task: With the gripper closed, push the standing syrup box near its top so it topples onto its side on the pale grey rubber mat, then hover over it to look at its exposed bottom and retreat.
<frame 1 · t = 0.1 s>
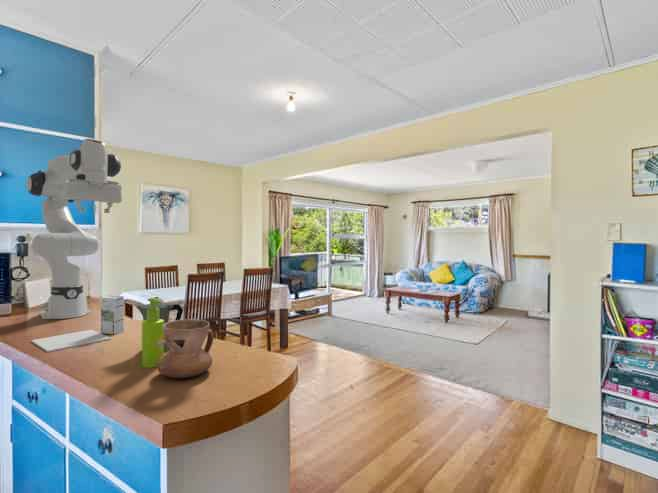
hand: (94, 212, 145), 48 cm above the countertop, tool pointing down, fingers open, 8 cm apart
ceramic jug: (187, 373, 100), on the countertop
soap dispenser: (153, 365, 105), on the countertop
grey mat: (71, 340, 127), on the countertop
coffeepot: (159, 350, 118), on the countertop
syrup box: (112, 333, 138), on the countertop
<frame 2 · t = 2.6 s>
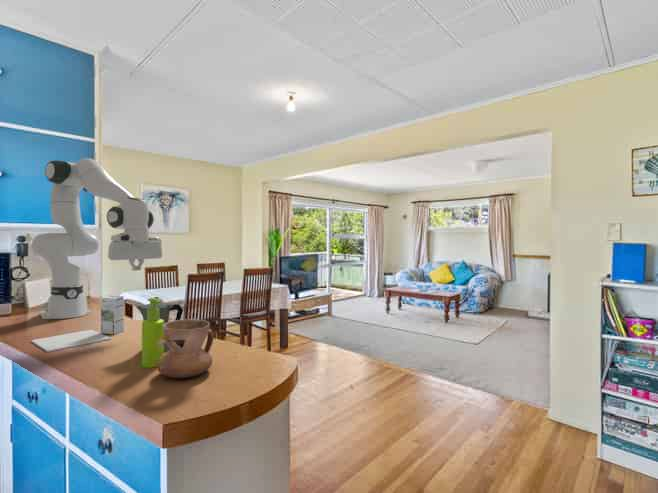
hand: (136, 270, 144), 24 cm above the countertop, tool pointing down, fingers closed
nothing on the countertop moved.
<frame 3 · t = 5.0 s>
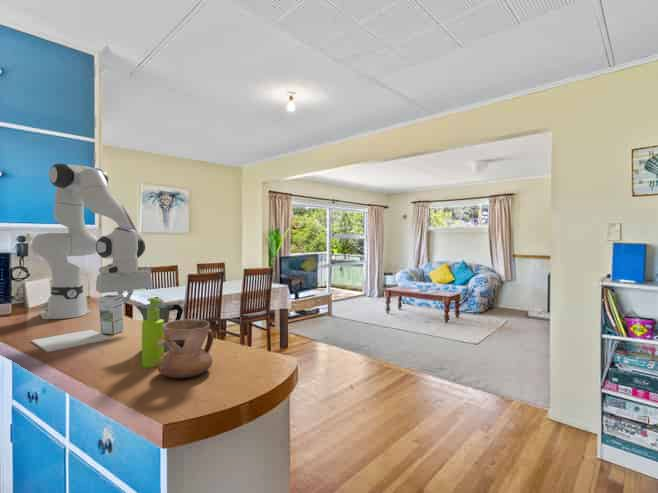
hand: (125, 301, 141), 12 cm above the countertop, tool pointing down, fingers closed
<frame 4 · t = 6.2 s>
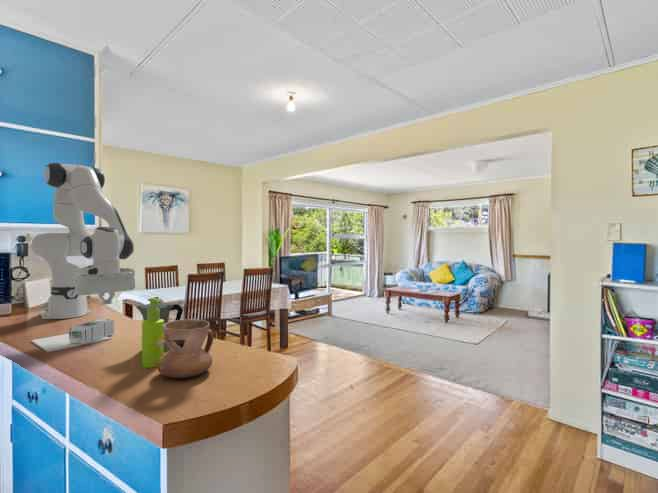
hand: (106, 304, 136), 12 cm above the countertop, tool pointing down, fingers closed
syrup box: (108, 326, 135), point 3 cm above the countertop, touching grey mat
everything else where it was.
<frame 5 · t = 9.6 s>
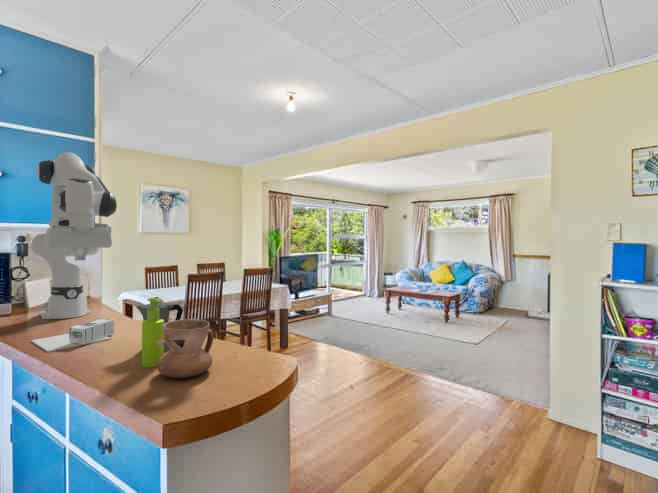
hand: (80, 260, 128), 29 cm above the countertop, tool pointing down, fingers closed
nothing on the countertop moved.
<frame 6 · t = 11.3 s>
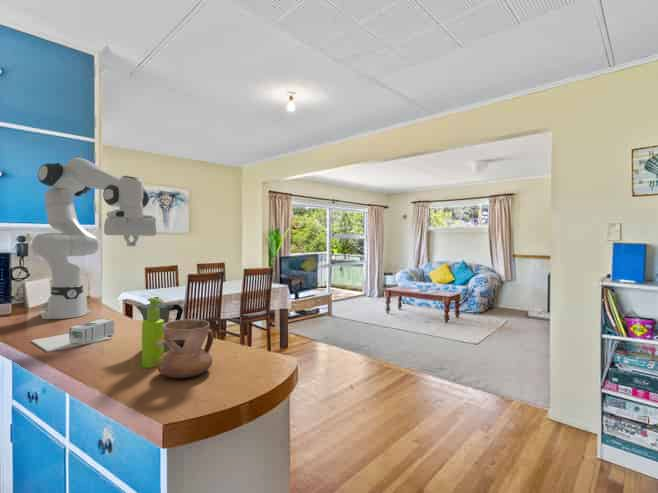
hand: (131, 246, 150), 34 cm above the countertop, tool pointing down, fingers closed
nothing on the countertop moved.
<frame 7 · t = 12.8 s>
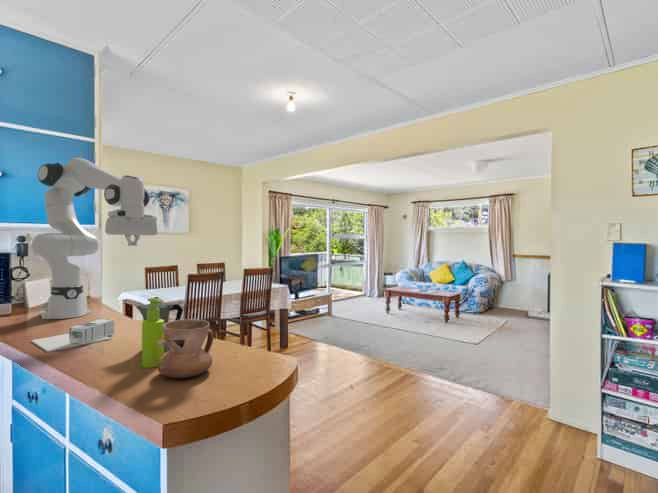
hand: (132, 245, 151), 34 cm above the countertop, tool pointing down, fingers closed
nothing on the countertop moved.
at the end: syrup box tilted 89°; syrup box touching grey mat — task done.
